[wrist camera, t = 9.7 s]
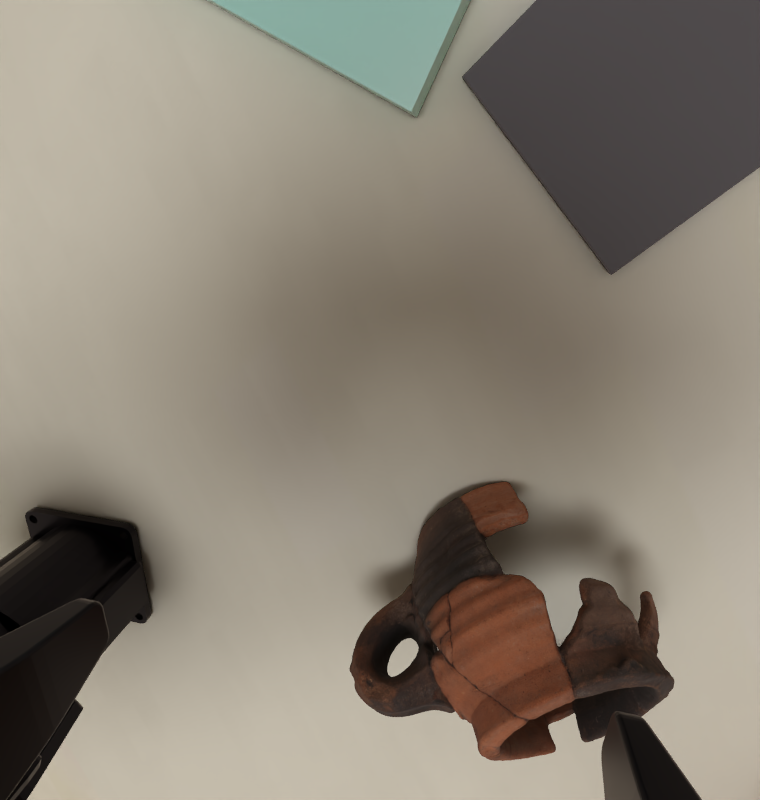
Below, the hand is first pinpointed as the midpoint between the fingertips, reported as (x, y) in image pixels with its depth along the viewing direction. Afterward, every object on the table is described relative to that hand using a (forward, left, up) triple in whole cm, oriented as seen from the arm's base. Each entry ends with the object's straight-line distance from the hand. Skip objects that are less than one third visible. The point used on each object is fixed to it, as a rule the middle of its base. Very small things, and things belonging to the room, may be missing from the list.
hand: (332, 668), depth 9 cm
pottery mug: (+4, -9, -13) cm, 16 cm away
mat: (+6, +11, -13) cm, 18 cm away
